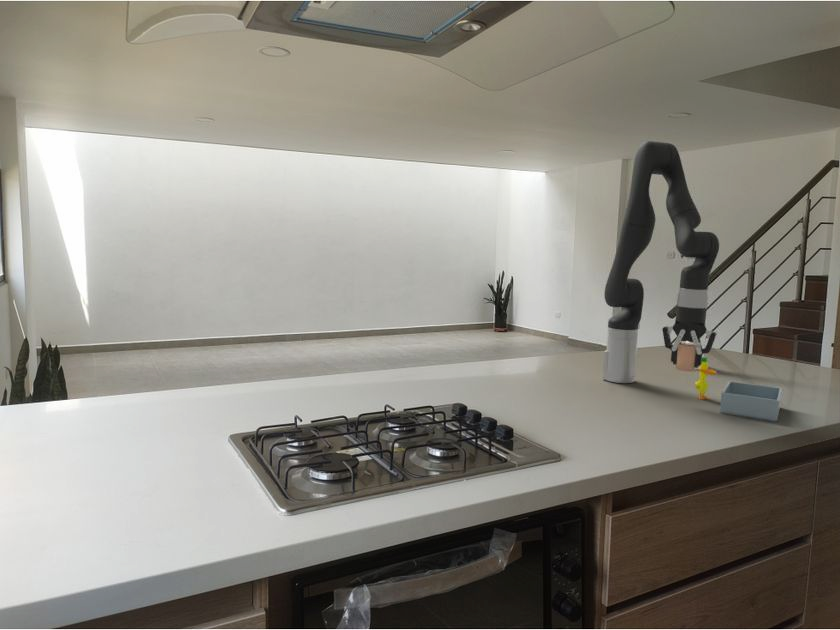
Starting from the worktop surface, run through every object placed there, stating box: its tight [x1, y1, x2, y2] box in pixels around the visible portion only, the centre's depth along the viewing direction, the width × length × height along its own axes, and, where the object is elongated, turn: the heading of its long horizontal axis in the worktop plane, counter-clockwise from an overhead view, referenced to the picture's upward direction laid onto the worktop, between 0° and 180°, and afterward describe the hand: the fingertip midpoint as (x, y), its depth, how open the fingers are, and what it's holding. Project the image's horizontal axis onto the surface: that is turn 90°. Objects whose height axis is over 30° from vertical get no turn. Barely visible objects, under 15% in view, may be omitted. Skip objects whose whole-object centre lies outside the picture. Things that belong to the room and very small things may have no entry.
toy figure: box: [694, 356, 717, 400], centre depth 169 cm, size 7×4×12 cm, turn 24°
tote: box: [719, 380, 783, 423], centre depth 158 cm, size 13×17×6 cm
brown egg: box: [675, 342, 697, 372], centre depth 162 cm, size 5×5×7 cm
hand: (685, 365), depth 163 cm, fingers closed on brown egg, 5 cm apart
